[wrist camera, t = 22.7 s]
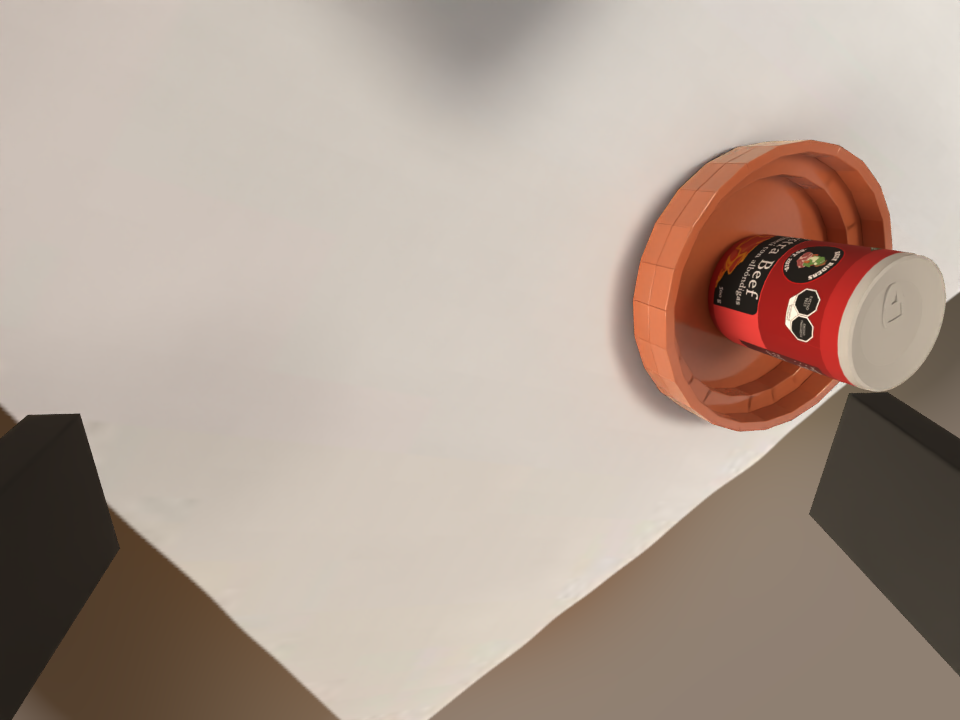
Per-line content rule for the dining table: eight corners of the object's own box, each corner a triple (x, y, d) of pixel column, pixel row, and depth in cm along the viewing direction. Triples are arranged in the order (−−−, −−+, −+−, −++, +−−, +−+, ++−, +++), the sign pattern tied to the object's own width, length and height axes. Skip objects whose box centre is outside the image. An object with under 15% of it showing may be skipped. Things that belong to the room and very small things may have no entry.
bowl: (702, 92, 37) (751, 85, 33) (878, 204, 45) (932, 207, 42) (585, 377, 40) (619, 397, 36) (770, 431, 48) (812, 452, 45)
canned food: (765, 209, 41) (931, 223, 31) (801, 294, 44) (960, 331, 35) (686, 281, 40) (830, 319, 30) (729, 362, 44) (870, 419, 34)
